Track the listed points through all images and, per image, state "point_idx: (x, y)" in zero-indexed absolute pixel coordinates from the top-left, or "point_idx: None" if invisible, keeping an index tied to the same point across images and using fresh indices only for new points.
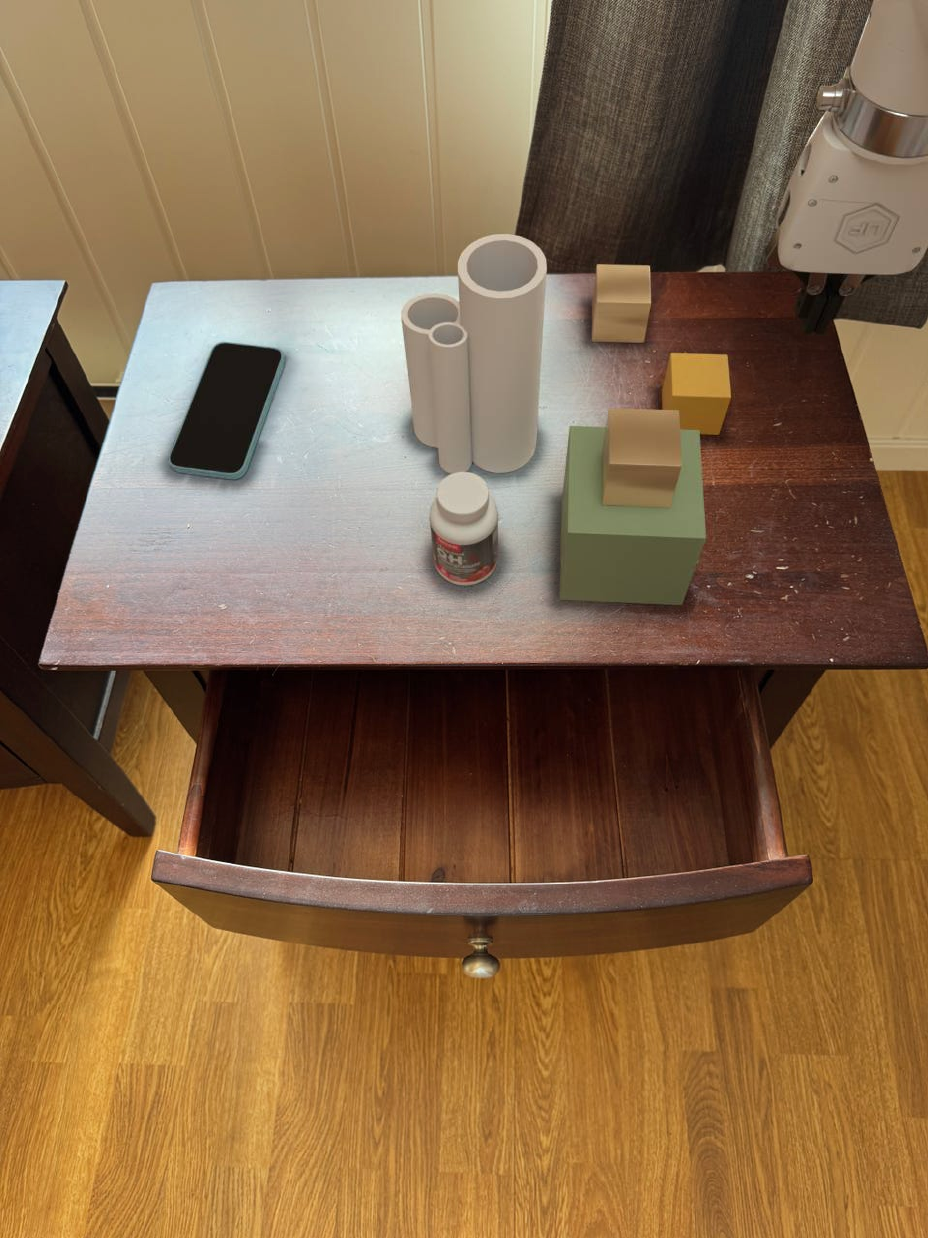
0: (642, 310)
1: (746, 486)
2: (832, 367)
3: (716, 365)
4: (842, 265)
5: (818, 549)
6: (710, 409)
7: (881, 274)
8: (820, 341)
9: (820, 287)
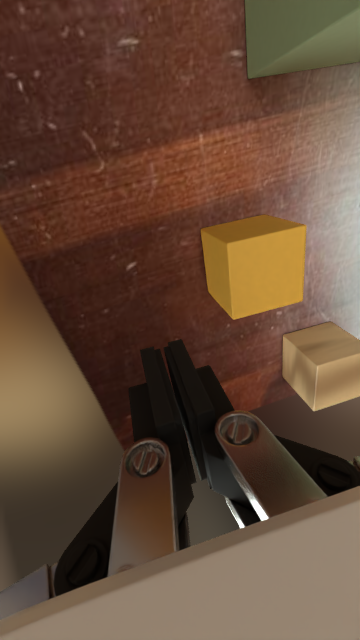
0: (318, 357)
1: (156, 142)
2: (82, 367)
3: (246, 297)
4: (302, 597)
5: (17, 10)
6: (238, 232)
7: (42, 615)
8: (103, 394)
9: (225, 438)
